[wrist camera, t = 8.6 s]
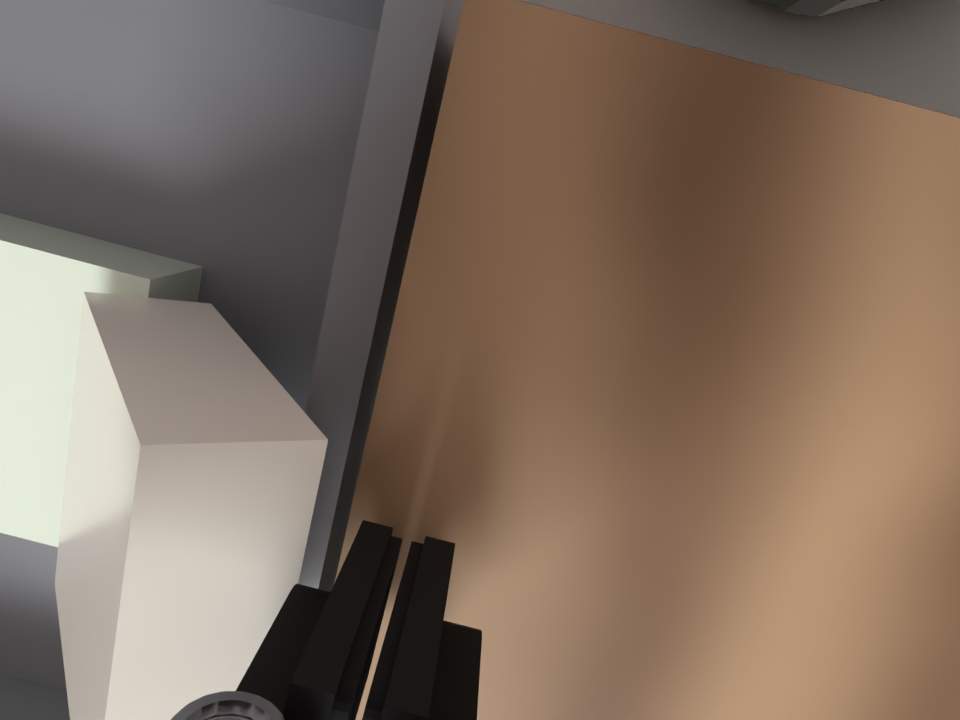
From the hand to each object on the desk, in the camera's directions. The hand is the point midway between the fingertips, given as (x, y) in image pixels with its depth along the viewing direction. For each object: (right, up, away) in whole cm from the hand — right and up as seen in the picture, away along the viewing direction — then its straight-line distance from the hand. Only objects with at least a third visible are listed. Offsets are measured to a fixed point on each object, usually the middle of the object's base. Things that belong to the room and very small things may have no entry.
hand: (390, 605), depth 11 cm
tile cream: (-4, +1, +2) cm, 4 cm away
